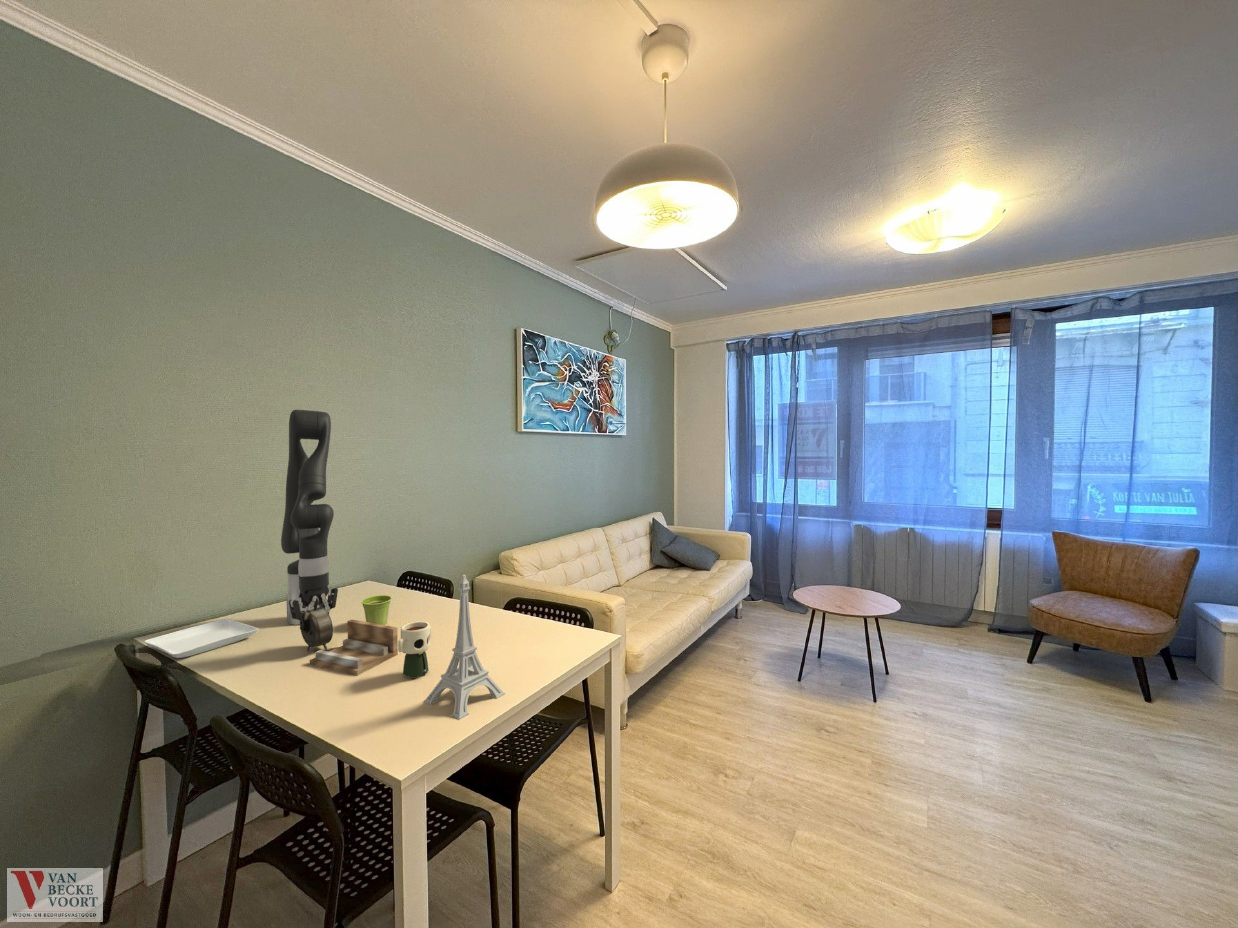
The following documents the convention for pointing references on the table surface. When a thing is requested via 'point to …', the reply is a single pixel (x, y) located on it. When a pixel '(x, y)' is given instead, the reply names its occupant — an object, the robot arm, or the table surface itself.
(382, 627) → the track board
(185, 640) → the salad plate
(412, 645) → the character mug
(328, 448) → the robot arm
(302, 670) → the table surface
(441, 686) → the eiffel tower
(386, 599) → the plant pot
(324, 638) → the alarm clock
